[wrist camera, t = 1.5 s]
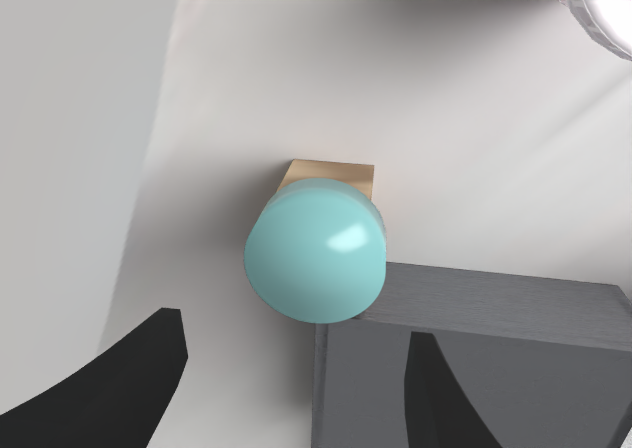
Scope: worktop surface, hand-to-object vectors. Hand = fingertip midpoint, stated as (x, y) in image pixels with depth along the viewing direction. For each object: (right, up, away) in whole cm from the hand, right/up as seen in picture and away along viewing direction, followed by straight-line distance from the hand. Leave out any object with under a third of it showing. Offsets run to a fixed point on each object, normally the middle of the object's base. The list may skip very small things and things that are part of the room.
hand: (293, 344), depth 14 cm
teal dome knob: (+1, +3, +6) cm, 7 cm away
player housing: (+9, -4, +13) cm, 16 cm away
